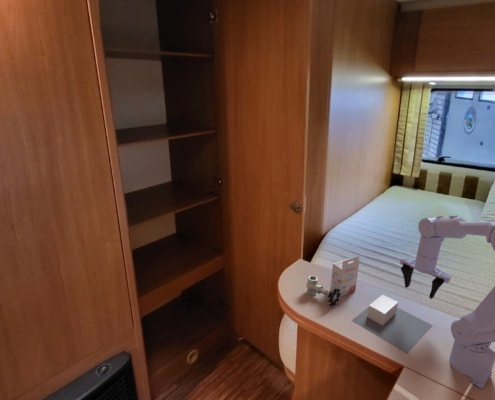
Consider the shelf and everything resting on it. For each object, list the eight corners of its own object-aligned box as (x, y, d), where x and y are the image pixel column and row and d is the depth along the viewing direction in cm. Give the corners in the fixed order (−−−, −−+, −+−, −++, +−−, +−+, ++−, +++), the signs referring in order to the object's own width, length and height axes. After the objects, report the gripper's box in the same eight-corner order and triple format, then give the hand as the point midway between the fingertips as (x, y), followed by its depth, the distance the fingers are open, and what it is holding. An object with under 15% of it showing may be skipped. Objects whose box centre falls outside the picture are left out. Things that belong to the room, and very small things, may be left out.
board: (432, 327, 105) (434, 318, 103) (406, 356, 93) (408, 346, 92) (379, 300, 117) (380, 292, 116) (351, 322, 106) (352, 313, 105)
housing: (380, 305, 113) (382, 294, 112) (395, 313, 109) (398, 302, 108) (367, 316, 108) (368, 305, 106) (382, 325, 104) (384, 313, 102)
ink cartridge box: (345, 284, 127) (350, 250, 122) (355, 291, 123) (360, 256, 118) (329, 290, 123) (333, 255, 118) (338, 297, 119) (343, 262, 114)
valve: (301, 294, 120) (329, 310, 112) (302, 279, 118) (331, 293, 110) (311, 287, 125) (339, 301, 117) (313, 272, 122) (342, 286, 114)
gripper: (458, 259, 98) (448, 297, 103) (409, 242, 108) (402, 277, 113) (449, 267, 94) (439, 306, 98) (399, 248, 104) (392, 285, 109)
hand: (419, 291), depth 105 cm, fingers open, 7 cm apart
